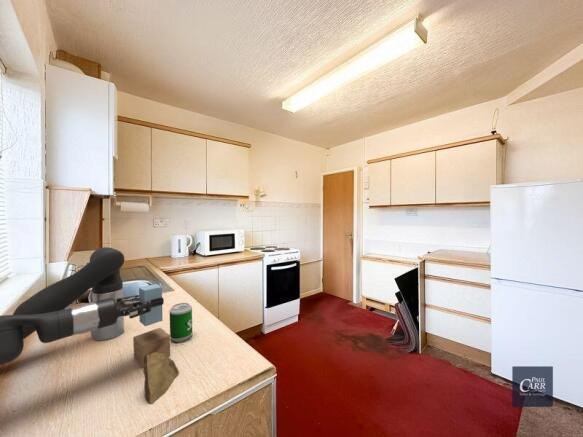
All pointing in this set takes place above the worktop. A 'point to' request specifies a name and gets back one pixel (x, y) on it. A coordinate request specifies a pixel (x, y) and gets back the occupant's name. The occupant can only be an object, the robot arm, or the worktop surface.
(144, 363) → the rock
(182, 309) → the soda can
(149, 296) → the blue block
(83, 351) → the worktop surface
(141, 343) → the walnut block
